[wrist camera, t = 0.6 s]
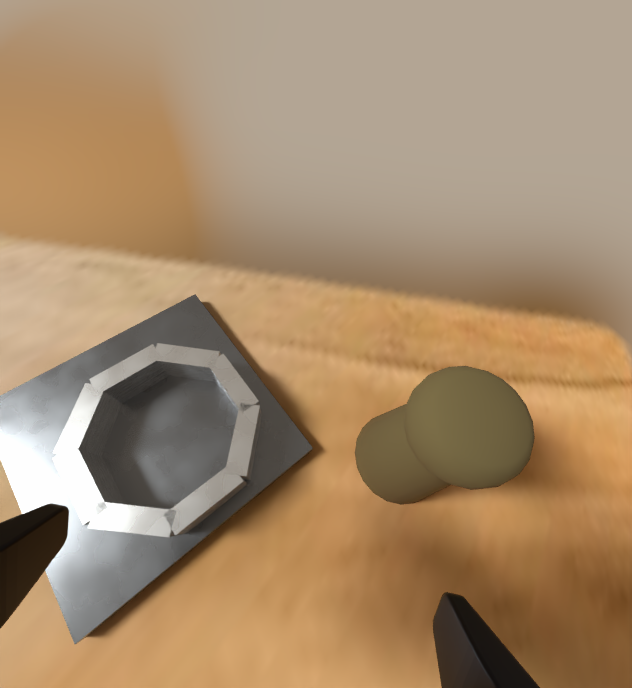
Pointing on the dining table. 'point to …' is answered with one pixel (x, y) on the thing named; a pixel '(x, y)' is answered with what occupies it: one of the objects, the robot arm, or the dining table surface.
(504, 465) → the cork
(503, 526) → the dining table surface
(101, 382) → the socket block
